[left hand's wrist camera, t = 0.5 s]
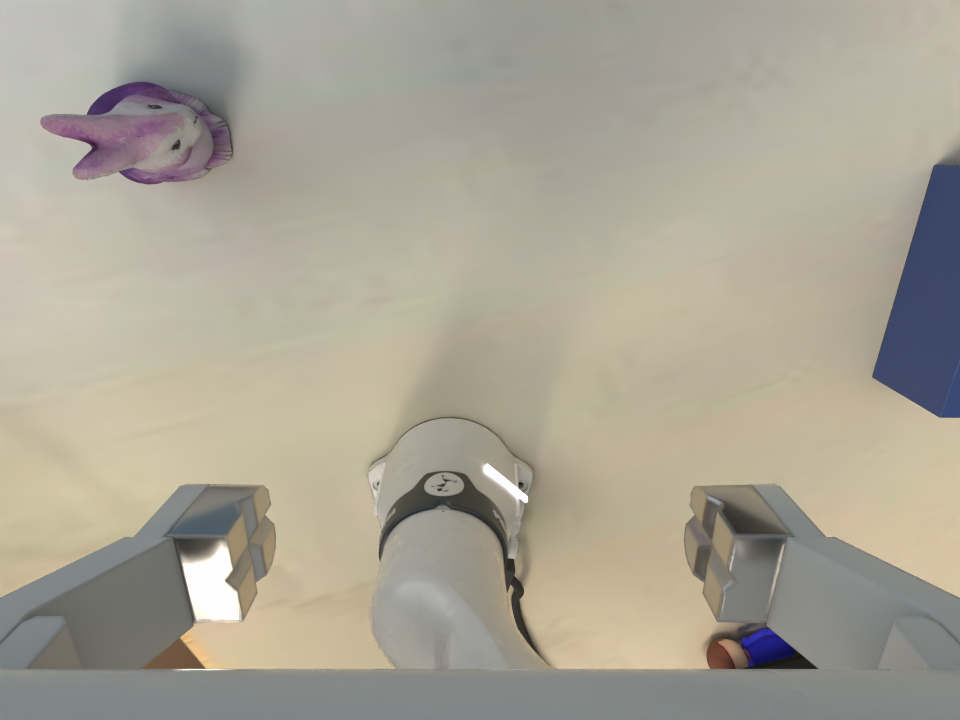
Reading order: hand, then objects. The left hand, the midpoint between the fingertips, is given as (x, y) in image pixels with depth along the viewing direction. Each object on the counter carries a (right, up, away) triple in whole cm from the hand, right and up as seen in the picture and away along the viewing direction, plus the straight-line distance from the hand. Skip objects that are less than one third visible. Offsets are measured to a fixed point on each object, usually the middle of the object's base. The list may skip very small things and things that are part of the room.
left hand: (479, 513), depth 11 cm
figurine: (-27, +24, +40) cm, 54 cm away
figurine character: (+37, -33, +62) cm, 79 cm away
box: (+45, +11, +45) cm, 65 cm away
